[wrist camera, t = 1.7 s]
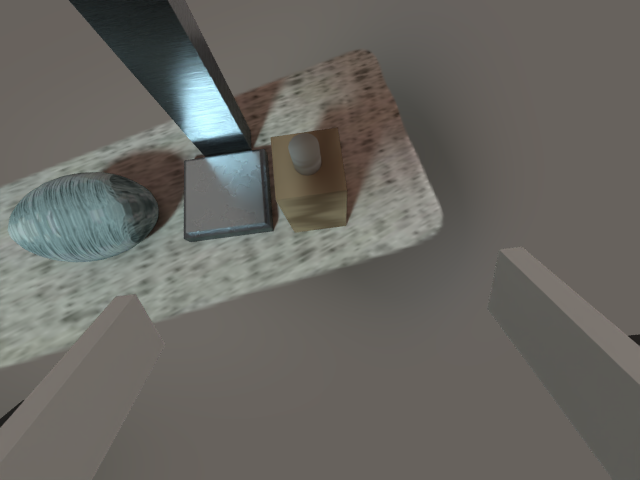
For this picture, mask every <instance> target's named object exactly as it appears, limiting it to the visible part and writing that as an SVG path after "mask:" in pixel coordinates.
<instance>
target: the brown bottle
mask: <svg viewBox="0 0 640 480" xmlns="http://www.w3.org/2000/svg"><path fill="white" fill-rule="evenodd" d="M271 148H272V160H273V172H274V185H275V197H276V201H277V203H278V205H279V206H280V208H281V210H282V211H283V213H284V215H285V217H286V218H287V220H288V222H289V223H290V225H291V227H292V229H293V230H294V232H302V231H310V230H317V229H325V228H333V227H340V226H346V210H347V186H346V179H345V173H344V166H343V159H342V153H341V146H340V139H339V132H338V128H331V129H324V130H317V131H311V132H304V133H297V134H290V135H284V136H277V137H271Z"/></svg>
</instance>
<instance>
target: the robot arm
mask: <svg viewBox="0 0 640 480" xmlns="http://www.w3.org/2000/svg"><path fill="white" fill-rule="evenodd" d="M488 310H489V312H490V313H491V314H492V316H493V317H494V318H495V320H496V321H497V322H498V324H499V325H500V327H501V328H502V329H503V330H504V332H505V333H506V335H507V336H508V338H509V339H510V340H511V342H512V343H513V344H514V346H515V347H516V349H517V350H518V351H519V353H520V354H521V355H522V357H523V358H524V359H525V361H526V362H527V364H528V365H529V366H530V368H531V369H532V370H533V372H534V373H535V375H536V376H537V377H538V379H539V380H540V381H541V383H542V384H543V385H544V387H545V388H546V389H547V391H548V392H549V394H550V395H551V396H552V398H553V399H554V401H555V402H556V403H557V405H558V406H559V407H560V409H561V410H562V411H563V413H564V414H565V415H566V417H567V418H568V420H569V421H570V422H571V424H572V425H573V427H574V428H575V429H576V431H577V432H578V433H579V435H580V436H581V438H582V439H583V440H584V441H585V443H586V444H587V446H588V447H589V448H590V450H591V451H592V453H593V454H594V455H595V457H596V458H597V459H598V461H599V462H600V463H601V465H602V466H603V468H604V469H605V470H606V472H607V473H608V474H609V476H610V477H611V479H612V480H640V335H631V336H627V335H626V334H625V333H623V332H622V331H621V330H620V329H619V328H617V327H616V326H615V325H614V324H613V323H611V322H610V321H609V320H608V319H607V318H606V317H604V316H603V315H602V314H601V313H600V312H598V311H597V310H596V309H595V308H594V307H592V306H591V305H590V304H589V303H588V302H586V301H585V300H584V299H583V298H582V297H581V296H579V295H578V294H577V293H576V292H575V291H574V290H572V289H571V288H570V287H569V286H568V285H567V284H565V283H564V282H563V281H562V280H560V279H559V278H558V277H557V276H556V275H555V274H553V273H552V272H551V271H550V270H549V269H548V268H546V267H545V266H544V265H543V264H542V263H540V262H539V261H538V260H537V259H536V258H535V257H533V256H532V255H531V254H530V253H529V252H527V251H526V250H525V249H524V248H522V247H516V248H508V249H500V250H499V253H498V258H497V263H496V268H495V273H494V278H493V283H492V289H491V293H490V299H489V303H488ZM164 346H165V344H164V342H163V340H162V338H161V337H160V335H159V333H158V331H157V330H156V328H155V326H154V325H153V323H152V321H151V319H150V318H149V316H148V314H147V313H146V311H145V309H144V307H143V306H142V304H141V302H140V301H139V299H138V297H137V296H136V294H133V295H124V296H116V297H115V298H114V299H113V300H112V302H111V303H110V304H109V305H108V306H107V307H106V308H105V310H104V311H103V312H102V313H101V314H100V315H99V316H98V317H97V319H96V320H95V321H94V322H93V323H92V324H91V325H90V327H89V328H88V329H87V330H86V331H85V332H84V333H83V334H82V336H81V337H80V338H79V339H78V340H77V341H76V342H75V344H74V345H73V346H72V347H71V348H70V349H69V350H68V352H67V353H66V354H65V355H64V356H63V357H62V358H61V359H60V361H59V362H58V363H57V364H56V365H55V366H54V368H53V369H52V370H51V371H50V372H49V373H48V374H47V375H46V377H45V378H44V379H43V380H42V381H41V382H40V383H39V384H38V386H37V387H36V388H35V389H34V390H33V391H32V392H31V394H30V395H29V396H28V397H27V398H26V399H25V400H23V401H22V402H20V403H19V404H18V405H17V406H15V407H14V408H13V409H12V410H11V411H9V412H8V413H7V414H6V415H5V416H3V417H2V418H1V419H0V480H92V479H93V477H94V475H95V473H96V471H97V470H98V468H99V466H100V464H101V462H102V460H103V459H104V457H105V455H106V453H107V451H108V449H109V448H110V446H111V444H112V442H113V440H114V438H115V437H116V435H117V433H118V431H119V429H120V427H121V426H122V424H123V422H124V420H125V418H126V416H127V415H128V413H129V411H130V409H131V407H132V405H133V404H134V402H135V400H136V398H137V396H138V394H139V392H140V390H141V389H142V387H143V385H144V383H145V381H146V380H147V378H148V376H149V374H150V372H151V370H152V368H153V366H154V365H155V363H156V361H157V359H158V358H159V356H160V354H161V352H162V350H163V348H164Z"/></svg>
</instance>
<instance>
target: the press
mask: <svg viewBox="0 0 640 480" xmlns="http://www.w3.org/2000/svg"><path fill="white" fill-rule="evenodd" d="M69 1H70V2H71V3H72V4H73V5H74V7H75V8H76V9H77V10H78V11H79V12H80V13H81V15H82V16H83V17H84V18H85V19H86V20H87V22H88V23H89V24H90V25H91V26H92V27H93V29H94V30H95V31H96V32H97V33H98V34H99V35H100V36H101V38H102V39H103V40H104V41H105V42H106V43H107V44H108V46H109V47H110V48H111V49H112V50H113V52H114V53H115V54H116V55H117V56H118V57H119V58H120V59H121V61H122V62H123V63H124V64H125V65H126V66H127V68H128V69H129V70H130V71H131V72H132V73H133V74H134V76H135V77H136V78H137V79H138V80H139V81H140V82H141V84H142V85H143V86H144V87H145V88H146V89H147V90H148V92H149V93H150V94H151V95H152V96H153V97H154V99H155V100H156V101H157V102H158V103H159V104H160V105H161V107H162V108H163V109H164V110H165V111H166V112H167V114H168V115H169V116H170V117H171V118H172V119H173V120H174V122H175V123H176V124H177V125H178V126H179V127H180V128H181V130H182V131H183V132H184V133H185V134H186V135H187V137H188V138H189V139H190V140H191V141H192V142H193V143H194V145H195V146H196V147H197V148H198V149H199V150H200V151H201V153H202V154H203V155H204V156H205V158H199V159H192V160H185V161H184V239H185V240H187V241H189V242H194V241H202V240H210V239H217V238H225V237H232V236H240V235H247V234H255V233H262V232H270V231H273V220H272V207H271V194H270V181H269V167H268V155H267V153H266V151H265V149H260V150H254V151H252V149H251V132H250V129H249V127H248V125H247V123H246V121H245V119H244V117H243V115H242V113H241V111H240V109H239V107H238V105H237V103H236V101H235V99H234V97H233V95H232V93H231V91H230V89H229V87H228V85H227V83H226V81H225V79H224V77H223V75H222V73H221V71H220V69H219V67H218V65H217V63H216V61H215V59H214V57H213V55H212V53H211V51H210V49H209V47H208V45H207V43H206V41H205V39H204V37H203V35H202V33H201V31H200V29H199V27H198V25H197V23H196V21H195V19H194V17H193V15H192V13H191V11H190V9H189V7H188V5H187V3H186V1H185V0H69ZM246 151H247V152H246ZM239 152H240V153H239ZM232 153H233V154H232Z"/></svg>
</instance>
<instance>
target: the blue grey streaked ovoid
mask: <svg viewBox="0 0 640 480" xmlns="http://www.w3.org/2000/svg"><path fill="white" fill-rule="evenodd" d="M157 219H158V205H157V202H156V200H155V198H154V196H153V195H152V194H151V192H150V191H149V190H148V189H146V188H145V187H143V186H142V185H140V184H138V183H136V182H134V181H132V180H130V179H128V178H125V177H122V176H119V175H115V174H109V173H100V172H95V173H77V174H71V175H67V176H62V177H59V178H57V179H54V180H51V181H49V182H46V183H44V184H42V185H41V186H39V187H37V188H36V189H34V190H32V191H31V192H29V193H28V194H27V195H26V196H24V197H23V199H22V200H21V201H20V202H19V203H18V204H17V206H16V207H15V209H14V210H13V212H12V214H11V216H10V220H9V226H8V232H9V235H10V236H11V238H12V239H13V240H14V241H15V242H16V243H18V244H19V245H20V246H21V247H23V248H24V249H26V250H28V251H30V252H32V253H34V254H37V255H39V256H42V257H46V258H49V259H53V260H59V261H68V262H87V261H96V260H102V259H106V258H109V257H113V256H116V255H118V254H120V253H122V252H125V251H127V250H129V249H131V248H133V247H134V246H136V245H137V244H138V243H140V242H141V241H142V240H143V239H144V238H145V237H146V236H147V235H148V234H149V232H150V231H151V230H152V229H153V227H154V226H155V224H156V222H157Z"/></svg>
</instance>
